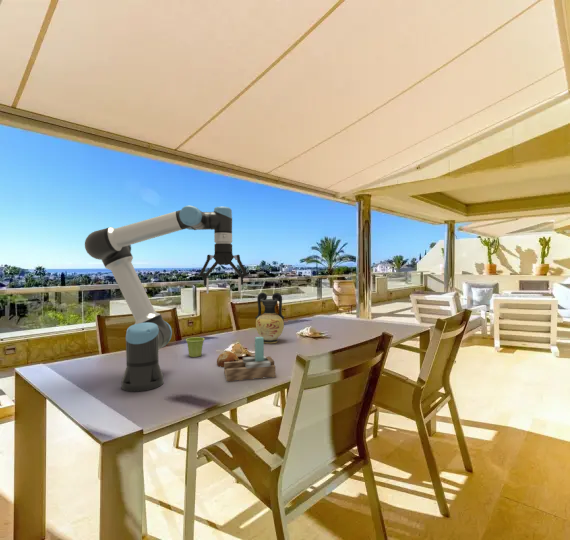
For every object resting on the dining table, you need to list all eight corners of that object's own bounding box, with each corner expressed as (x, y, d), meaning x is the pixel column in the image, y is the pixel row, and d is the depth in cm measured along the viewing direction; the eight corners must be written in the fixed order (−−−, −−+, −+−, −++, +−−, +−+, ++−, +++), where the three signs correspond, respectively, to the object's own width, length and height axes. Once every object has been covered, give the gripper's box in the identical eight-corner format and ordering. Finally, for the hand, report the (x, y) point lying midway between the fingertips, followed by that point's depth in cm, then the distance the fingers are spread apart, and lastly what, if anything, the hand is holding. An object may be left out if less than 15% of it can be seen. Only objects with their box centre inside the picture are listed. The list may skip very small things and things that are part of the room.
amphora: (283, 338, 220) (283, 291, 220) (285, 344, 203) (285, 293, 203) (255, 339, 219) (255, 291, 219) (255, 345, 202) (254, 293, 202)
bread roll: (230, 368, 169) (224, 352, 171) (245, 362, 165) (239, 346, 166) (216, 374, 161) (210, 357, 163) (231, 367, 156) (225, 350, 158)
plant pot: (207, 353, 184) (206, 337, 184) (201, 358, 174) (200, 341, 174) (190, 353, 185) (189, 337, 185) (183, 358, 175) (182, 340, 175)
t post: (253, 372, 145) (253, 339, 144) (250, 367, 151) (250, 336, 151) (268, 370, 146) (268, 338, 146) (265, 366, 152) (265, 335, 152)
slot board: (226, 381, 139) (226, 366, 139) (224, 372, 151) (224, 358, 151) (275, 377, 144) (275, 362, 144) (269, 368, 156) (269, 355, 156)
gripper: (193, 242, 142) (193, 294, 143) (253, 243, 149) (253, 292, 149) (193, 243, 150) (193, 292, 150) (250, 244, 156) (251, 291, 156)
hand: (223, 292), depth 149 cm, fingers open, 13 cm apart
